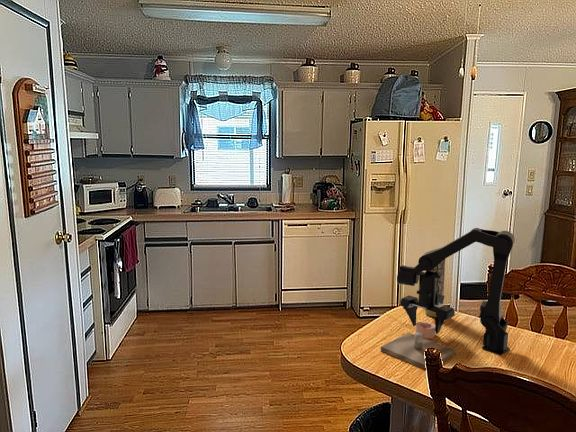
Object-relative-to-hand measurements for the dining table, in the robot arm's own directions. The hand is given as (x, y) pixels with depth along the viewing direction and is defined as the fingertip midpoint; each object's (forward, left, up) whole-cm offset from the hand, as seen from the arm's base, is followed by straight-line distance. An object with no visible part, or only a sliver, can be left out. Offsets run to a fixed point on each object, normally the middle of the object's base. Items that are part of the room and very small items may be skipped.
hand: (425, 329), depth 159 cm
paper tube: (+8, -19, -2) cm, 21 cm away
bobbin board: (-6, +14, -2) cm, 15 cm away
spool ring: (0, 0, -2) cm, 2 cm away
